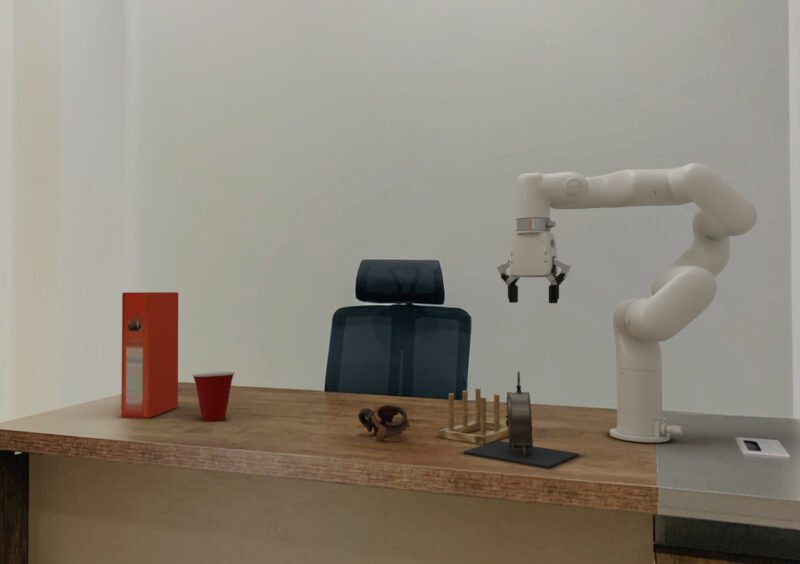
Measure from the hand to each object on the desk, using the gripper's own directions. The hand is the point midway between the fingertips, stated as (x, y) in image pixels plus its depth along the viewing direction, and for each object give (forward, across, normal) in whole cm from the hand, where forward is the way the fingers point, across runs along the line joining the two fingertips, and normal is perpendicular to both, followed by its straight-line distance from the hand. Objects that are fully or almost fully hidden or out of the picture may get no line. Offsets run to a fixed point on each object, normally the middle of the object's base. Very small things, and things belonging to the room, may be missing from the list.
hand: (532, 302), depth 162 cm
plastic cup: (+31, +70, +35) cm, 84 cm away
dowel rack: (+30, +10, +6) cm, 32 cm away
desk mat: (+30, -6, +18) cm, 36 cm away
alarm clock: (+30, -6, +18) cm, 35 cm away
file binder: (+31, +90, +40) cm, 103 cm away
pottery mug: (+31, +25, +23) cm, 46 cm away
